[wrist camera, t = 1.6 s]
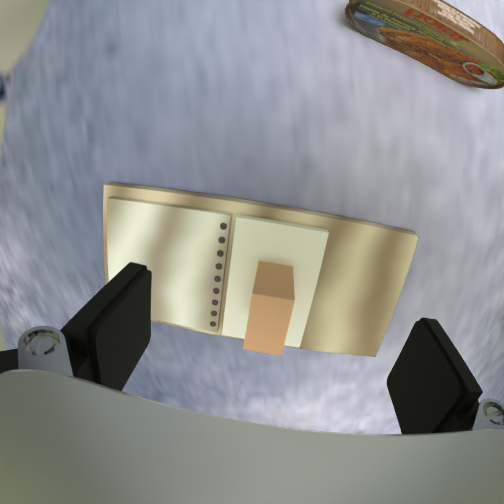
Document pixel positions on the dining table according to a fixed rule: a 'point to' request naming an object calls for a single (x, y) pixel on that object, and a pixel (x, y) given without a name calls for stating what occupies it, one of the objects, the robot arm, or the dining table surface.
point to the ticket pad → (219, 257)
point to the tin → (434, 37)
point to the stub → (272, 282)
